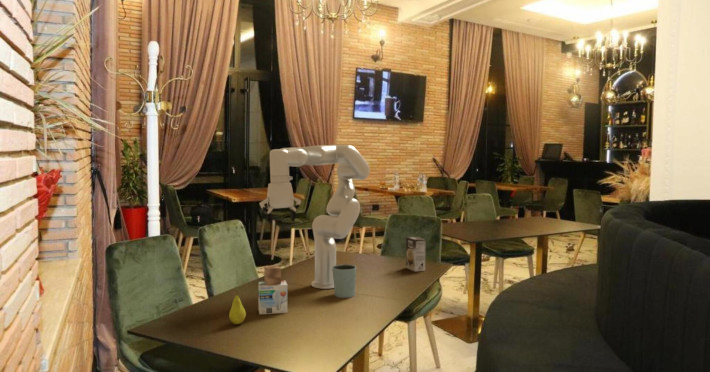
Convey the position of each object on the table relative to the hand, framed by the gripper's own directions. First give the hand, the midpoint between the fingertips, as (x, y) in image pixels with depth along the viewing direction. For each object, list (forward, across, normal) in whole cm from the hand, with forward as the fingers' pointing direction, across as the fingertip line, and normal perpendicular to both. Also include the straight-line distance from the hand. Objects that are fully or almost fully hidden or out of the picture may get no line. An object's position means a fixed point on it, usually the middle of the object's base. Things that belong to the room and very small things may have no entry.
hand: (281, 221), depth 209 cm
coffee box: (+34, -76, -19) cm, 85 cm away
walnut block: (+20, +9, +15) cm, 27 cm away
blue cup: (+32, -24, +7) cm, 41 cm away
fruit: (+31, +24, +24) cm, 46 cm away
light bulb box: (+31, +9, +15) cm, 36 cm away
